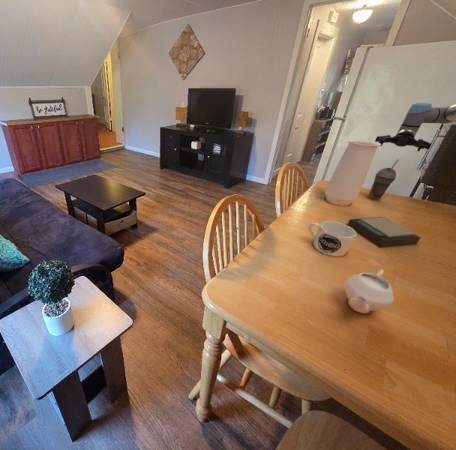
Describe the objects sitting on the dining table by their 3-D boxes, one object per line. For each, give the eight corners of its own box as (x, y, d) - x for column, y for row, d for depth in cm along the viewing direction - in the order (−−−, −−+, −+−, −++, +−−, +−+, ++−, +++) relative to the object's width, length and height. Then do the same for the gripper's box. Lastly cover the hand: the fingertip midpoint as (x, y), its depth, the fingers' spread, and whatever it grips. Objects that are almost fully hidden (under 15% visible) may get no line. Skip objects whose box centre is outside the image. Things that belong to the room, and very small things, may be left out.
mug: (346, 245, 88) (356, 226, 83) (346, 261, 80) (357, 241, 76) (305, 233, 94) (312, 215, 90) (301, 247, 87) (308, 228, 82)
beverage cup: (366, 194, 125) (386, 155, 114) (384, 199, 120) (406, 159, 110) (362, 198, 121) (382, 158, 110) (380, 203, 116) (403, 162, 106)
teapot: (391, 298, 67) (409, 273, 62) (367, 340, 57) (387, 314, 52) (351, 279, 74) (365, 255, 69) (323, 313, 63) (337, 288, 58)
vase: (349, 210, 110) (380, 147, 96) (318, 200, 118) (342, 141, 103) (356, 201, 118) (386, 142, 103) (326, 193, 126) (350, 137, 111)
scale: (416, 244, 89) (422, 235, 87) (380, 247, 87) (385, 239, 85) (378, 222, 101) (383, 215, 99) (346, 225, 99) (350, 217, 97)
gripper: (432, 150, 121) (432, 159, 108) (371, 141, 136) (364, 148, 123) (442, 134, 117) (443, 141, 104) (377, 126, 132) (371, 132, 119)
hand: (400, 145), depth 114 cm, fingers open, 13 cm apart
